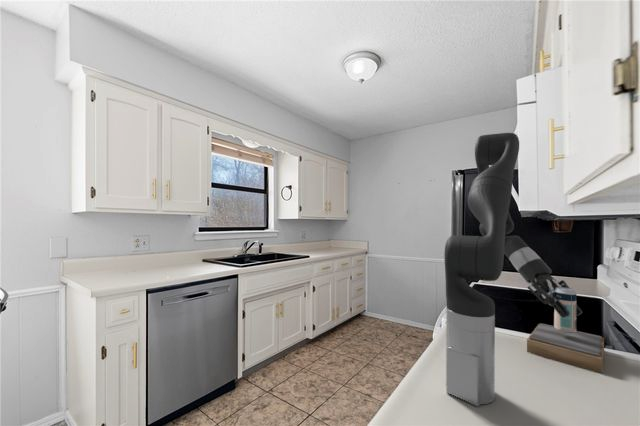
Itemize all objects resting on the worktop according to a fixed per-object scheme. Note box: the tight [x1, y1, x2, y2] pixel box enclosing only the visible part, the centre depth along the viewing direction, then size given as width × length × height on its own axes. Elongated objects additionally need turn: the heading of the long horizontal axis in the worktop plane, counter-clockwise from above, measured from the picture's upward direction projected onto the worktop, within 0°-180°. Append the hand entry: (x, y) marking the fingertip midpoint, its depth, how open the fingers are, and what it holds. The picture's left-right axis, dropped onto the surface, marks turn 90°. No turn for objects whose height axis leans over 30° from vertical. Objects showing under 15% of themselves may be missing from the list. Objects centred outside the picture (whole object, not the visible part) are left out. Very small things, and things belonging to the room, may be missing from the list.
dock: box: [526, 322, 605, 374], centre depth 81 cm, size 18×15×4 cm
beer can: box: [553, 287, 577, 333], centre depth 81 cm, size 5×5×12 cm
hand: (572, 314), depth 79 cm, fingers closed on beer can, 4 cm apart
